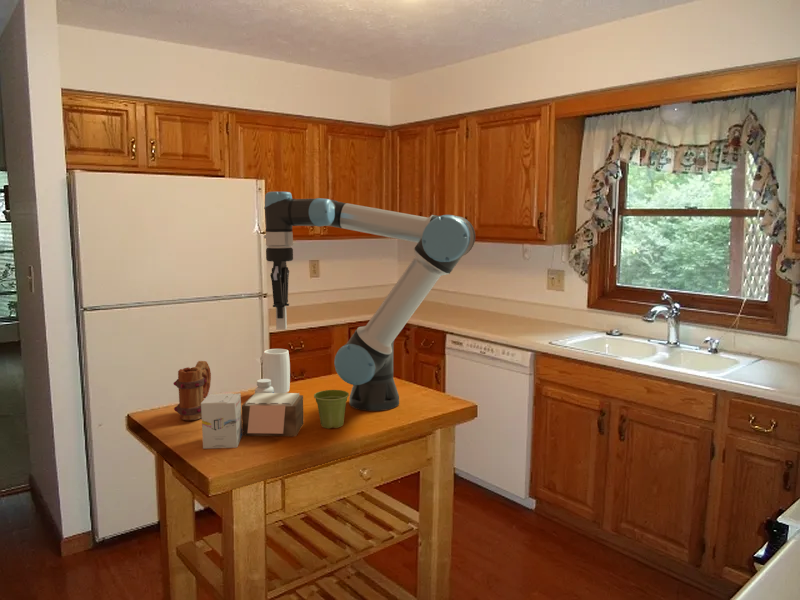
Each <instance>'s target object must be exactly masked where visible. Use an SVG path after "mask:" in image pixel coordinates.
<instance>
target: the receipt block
mask: <svg viewBox="0 0 800 600" xmlns="http://www.w3.org/2000/svg"><path fill="white" fill-rule="evenodd" d="M250 405H264V406H285V417H284V430H283V434H260V433H247V432H248V421H249V411H250ZM241 416H242V437H243V436H245V437H246V436H249V437H250V436H251V437H254V436H255V437H258V436H259V437H297V435H298V434H299V432H300V430H302V427H303V426H304V423H305V421H304V418H305V417H304V395H302V394H300V392H298V393H297V392H287V393H255V392H254V393H253V394H252V395H250V397H249V398H248V399H246V401H245V402H244V403H243V404H241Z"/></svg>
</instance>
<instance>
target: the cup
mask: <svg viewBox="0 0 800 600" xmlns="http://www.w3.org/2000/svg"><path fill="white" fill-rule="evenodd" d="M262 355H263V357H262V374H263V378H262V379H270V380H271V385H270V386H271V387H273V388H274V393H290V392H289V391H290V387H291V386H290V385H291V383H290V382H291V362H290V354H289V350H288V349H285V348H270V349H266V350H264V351H263V354H262Z"/></svg>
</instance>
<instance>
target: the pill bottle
mask: <svg viewBox="0 0 800 600" xmlns="http://www.w3.org/2000/svg"><path fill="white" fill-rule="evenodd" d="M270 385H271V380H270V379H263V378H260V379H257V380H256V386H257V387H256V388H255V389H254V394H255V393H274V388H273V387H271V386H270Z"/></svg>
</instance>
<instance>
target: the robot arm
mask: <svg viewBox="0 0 800 600" xmlns="http://www.w3.org/2000/svg"><path fill="white" fill-rule="evenodd" d="M292 195H293V194H292V193H291V192H290V191H268V192H266V193H265V195H264V208H263V209H264V220H265V221H264V223H265V235H264V236H263V238H264V239H265V245H266V248H265V255H266V257H265V260H266V261H267V262H272V263H273V264H272V267H271V273H270V279H271V280H270V281H271V288H272V290H271V291H272V300H273V304H272V308H275V324H276V326H275V329H276V330H282V331H283V330H287V329H288V326H287V325H288V324H287V323H288V321H287V320H288V319H287V316H288V315H287V307H289V306H290V303H288V302H289V276H290V270H289V267H288V264H287V262H291V261H293V260H294V249H293V247H292V246H293V245H294V235H293V233H294V232H293V227H299V226H300V227H301V226H302V227H303V226H304V227H324V226H325V227H327V226H328V227H333V228H339V229H345V230H350V231H355V232H360V233H365V234H371V235H375V236H381V237H386V238H390V239H391V238H392V239H397V240H402V241H407V242H412V243H417V244H416V245H415V247H414V248H413V252H414V258H413V259H412V261H410V263H409V264H408V266H407V268H406V269H405V270H404V272H403V273H402V274H401V276H400V277H399V279H398V280H397V281H396V283H395V284H394V285H393V287H392V288H391V290H390V292H389V293H388V294H387V295H386V297H385V298H384V300H383V301H382V303H381V304H380V306H379V307H378V308H377V310H376V311H375V312H374V314H373V316H372V317H371V318H370V319H369V321H368V322H367V323H366V325H363V326H358V327H357V329H356V330H354V333H353V334H352V335H351V337H350V338H349V340H348V341H347V342H346V343H345V344H344V345H342V346H340V348H339V349H338V350H337V352H336V354H335V356H334V368H335V372H336V373H337V375H338V377H339V378H340V379H341V380H343V382H344V383H347V384H349V385H352V387H351V391H350V393H349V397H348V399H349V406H350V407H351V408H353V409H356V410H360V411H368V412H369V411H370V412H374V411H375V412H380V411H387V410H392V409H395V408H396V407H398V406H399V404H400V395H399V391H398V389H397V386H396V382H395V379H394V343H395V339H396V338H397V337H398V335H399V334H400V333H401V332H402V330H403V329H404V327H405V325H406V324H407V323H408V322H409V320H410V319H411V318H412V316H413V314H415V312H416V310H417V309H418V308H419V307H420V305H421V304H422V302H423V301H424V299H426V297H427V296H428V295H429V293H430V292H431V290H432V289H433V288H434V286H435V284H436V283H437V282H438V281H439V279H440V278H441V277H442V276H448V275H450V274H451V272H452V271H453V269H455V268H456V266H457V265H458V263H459V262H460V260H461V259H462V258H463V257H464V256H466V255H467V254H468V253H470V251H471V250H472V249H473V247H474V245H475V241H476V231H475V229H474V226H473V225H472V223H471V222H470V221H468V219H466V217H465V218H464V217H463V216H460V215H453V214H443V215H434V214H431V215H430V216H427V217H426V216H422V215H421V216H420V215H415V214H409V213H404V212H398V211H393V210H387V209H383V208H382V209H381V208H377V207H369V206H366V205H365V206H364V205H358V204H353V203H348V202H347V203H346V202H342V201H338V200H334V199H329V198H320V197H318V198H293V196H292Z"/></svg>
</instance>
